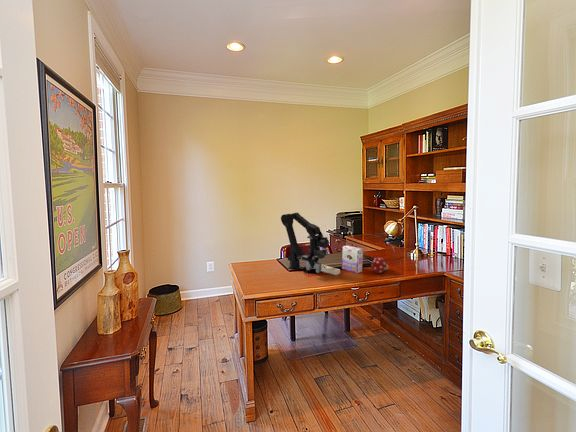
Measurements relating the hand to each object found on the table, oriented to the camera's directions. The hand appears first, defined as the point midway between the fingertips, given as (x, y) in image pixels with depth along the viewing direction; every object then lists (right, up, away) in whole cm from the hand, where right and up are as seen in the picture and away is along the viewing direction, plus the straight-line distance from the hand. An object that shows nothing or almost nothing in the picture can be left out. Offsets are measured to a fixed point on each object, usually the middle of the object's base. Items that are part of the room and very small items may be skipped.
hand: (313, 267), depth 217 cm
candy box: (+27, -3, +8) cm, 29 cm away
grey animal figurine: (0, -2, 0) cm, 2 cm away
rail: (+10, -4, +5) cm, 12 cm away
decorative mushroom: (+47, -4, +6) cm, 48 cm away
